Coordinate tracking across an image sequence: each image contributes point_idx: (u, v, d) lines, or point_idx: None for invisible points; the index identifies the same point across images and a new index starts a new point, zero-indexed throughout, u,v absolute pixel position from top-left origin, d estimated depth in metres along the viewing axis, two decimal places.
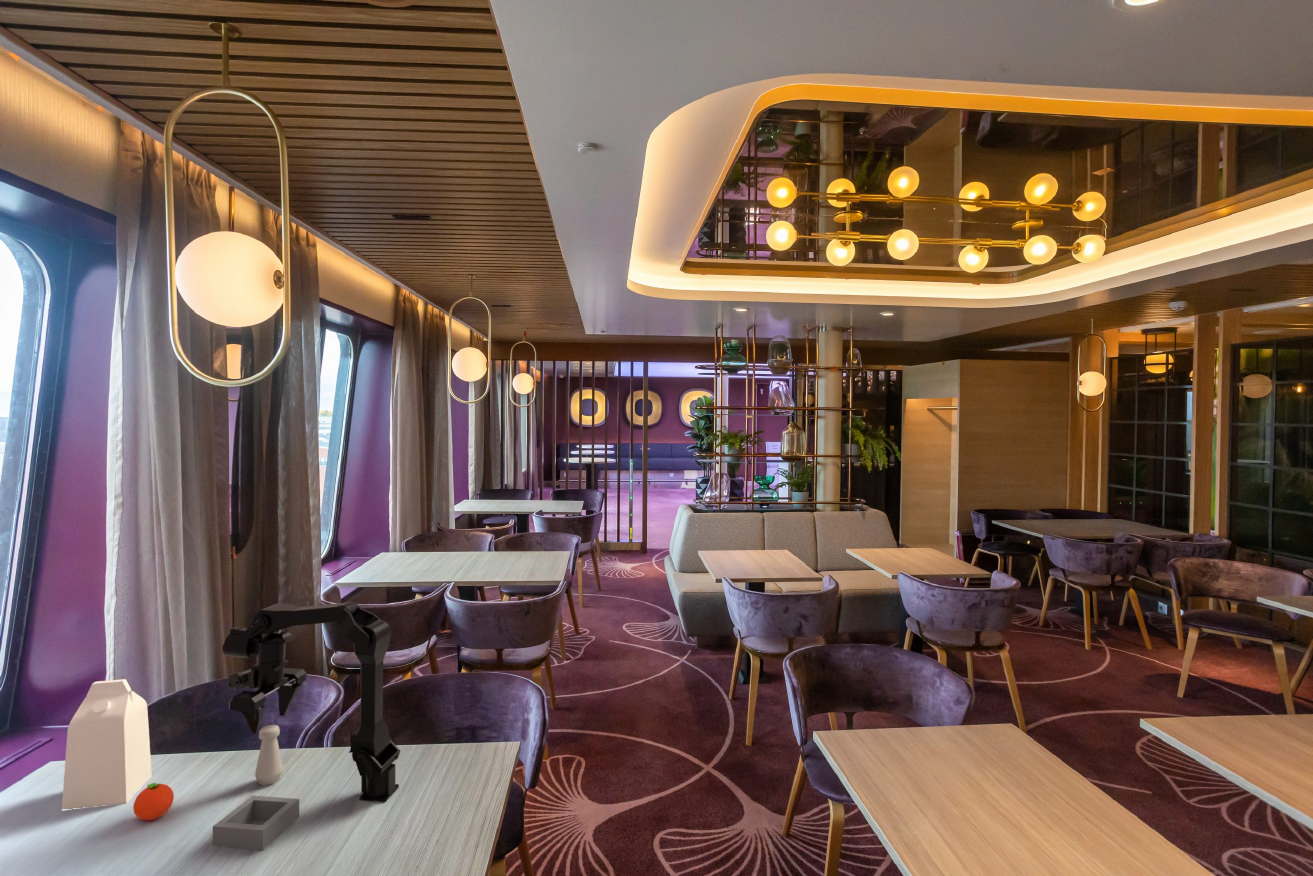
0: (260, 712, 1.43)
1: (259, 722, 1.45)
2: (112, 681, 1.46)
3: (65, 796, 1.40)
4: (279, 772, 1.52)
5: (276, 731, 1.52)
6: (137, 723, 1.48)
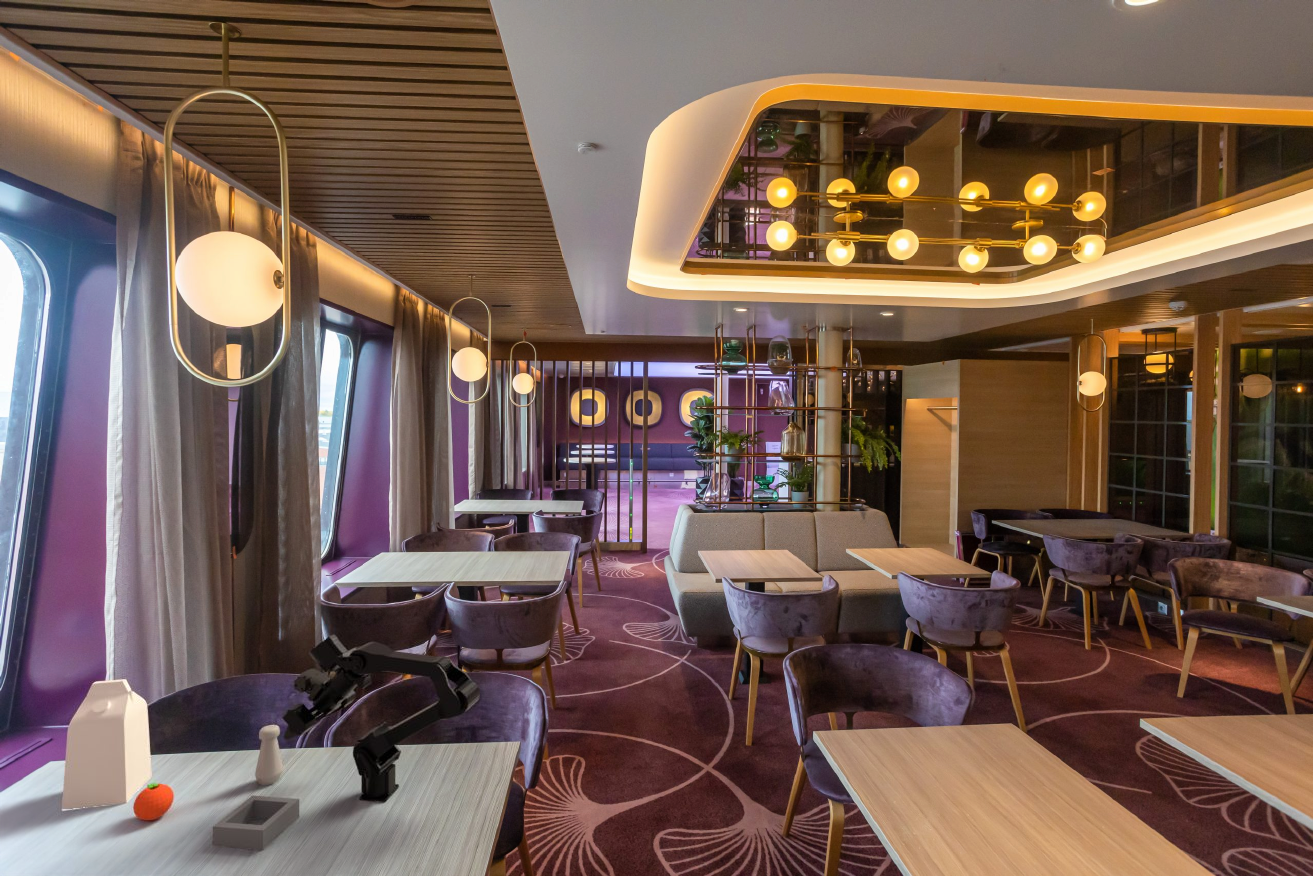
0: None
1: (295, 736, 1.45)
2: (112, 681, 1.47)
3: (65, 796, 1.40)
4: (279, 772, 1.52)
5: (276, 731, 1.52)
6: (137, 723, 1.48)
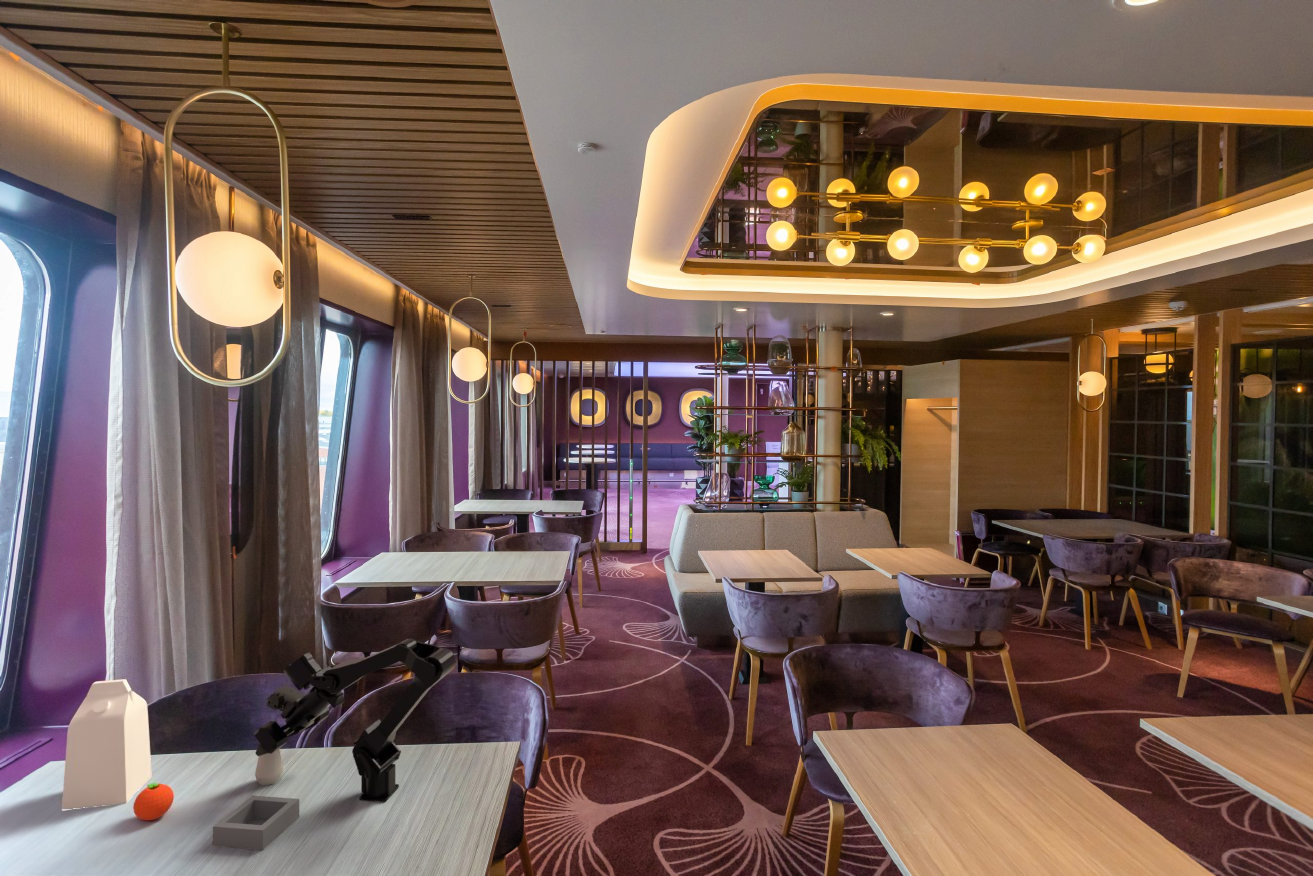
0: None
1: None
2: (112, 681, 1.47)
3: (65, 796, 1.40)
4: (279, 772, 1.52)
5: None
6: (137, 723, 1.48)
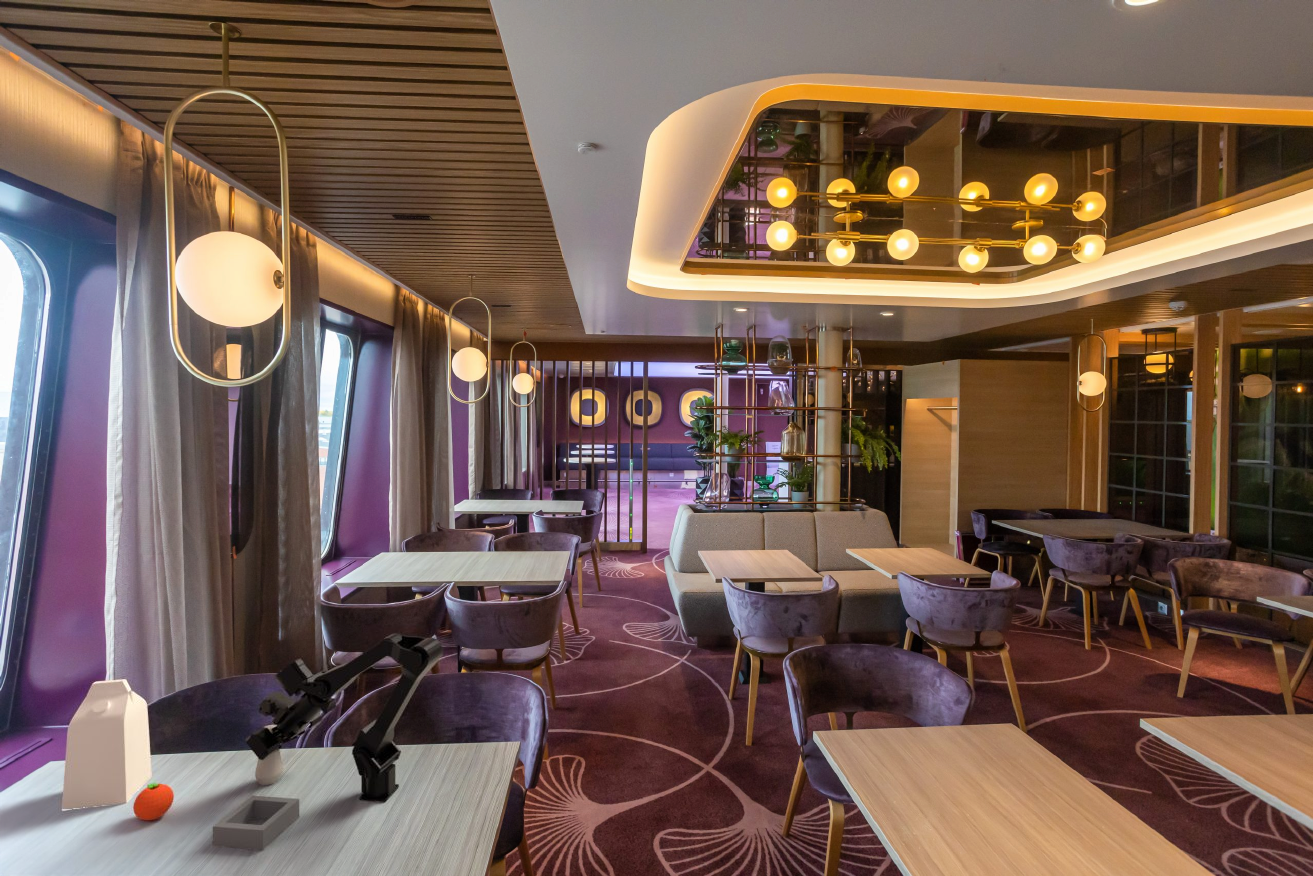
0: None
1: None
2: (112, 681, 1.47)
3: (65, 796, 1.40)
4: (279, 772, 1.52)
5: None
6: (137, 723, 1.48)
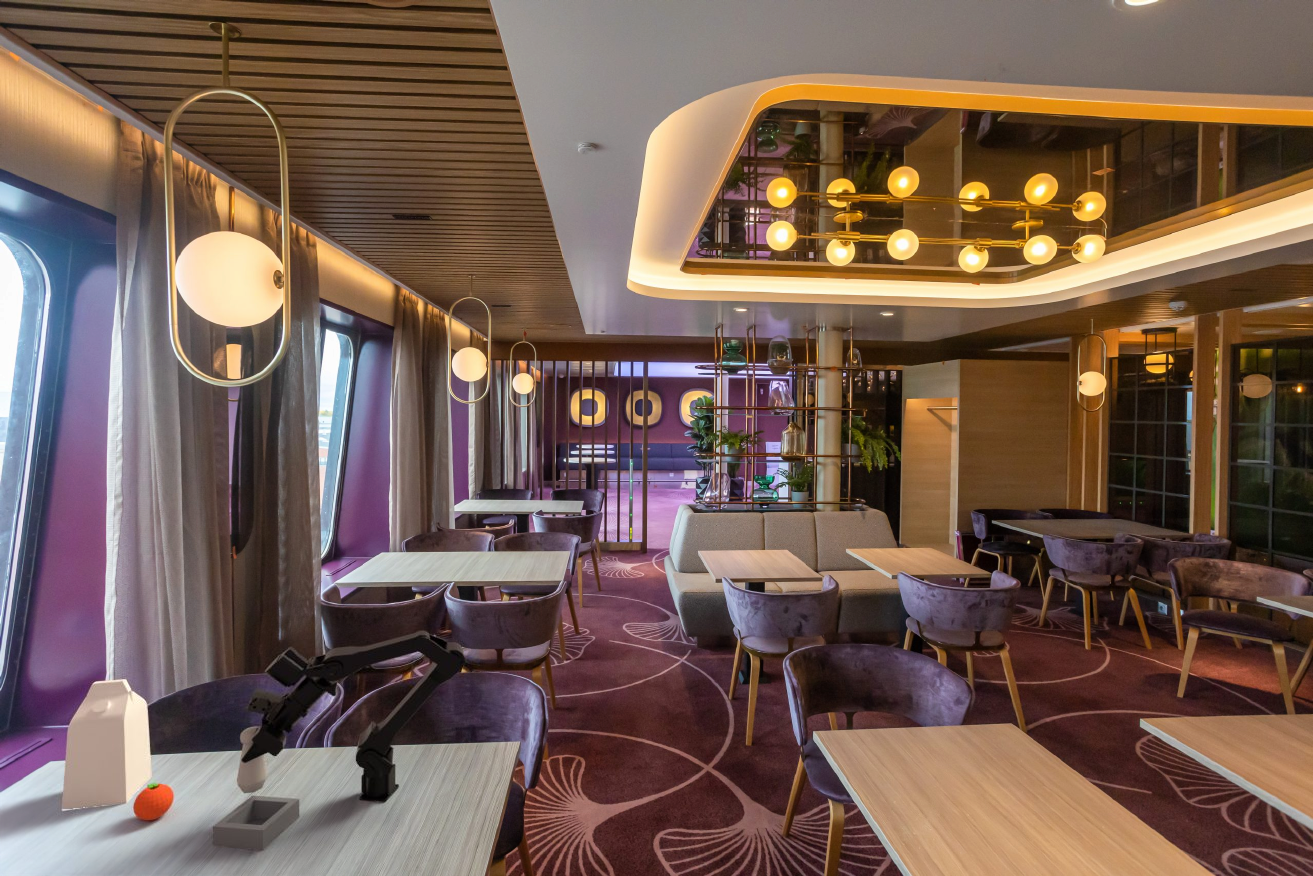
0: None
1: None
2: (112, 681, 1.47)
3: (65, 796, 1.40)
4: (267, 774, 1.39)
5: None
6: (137, 723, 1.48)
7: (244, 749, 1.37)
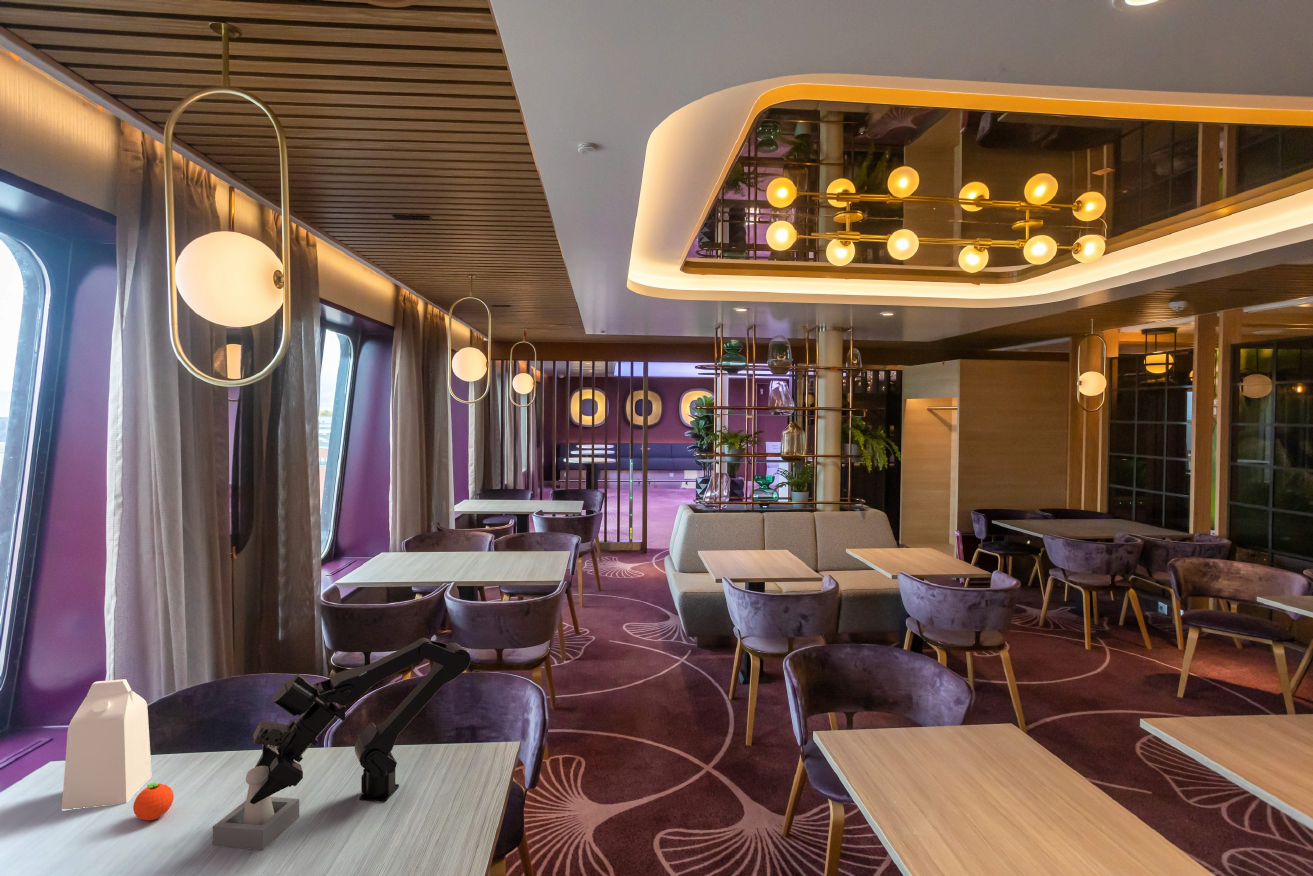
0: None
1: None
2: (112, 681, 1.47)
3: (65, 796, 1.40)
4: None
5: None
6: (137, 723, 1.48)
7: (251, 790, 1.32)
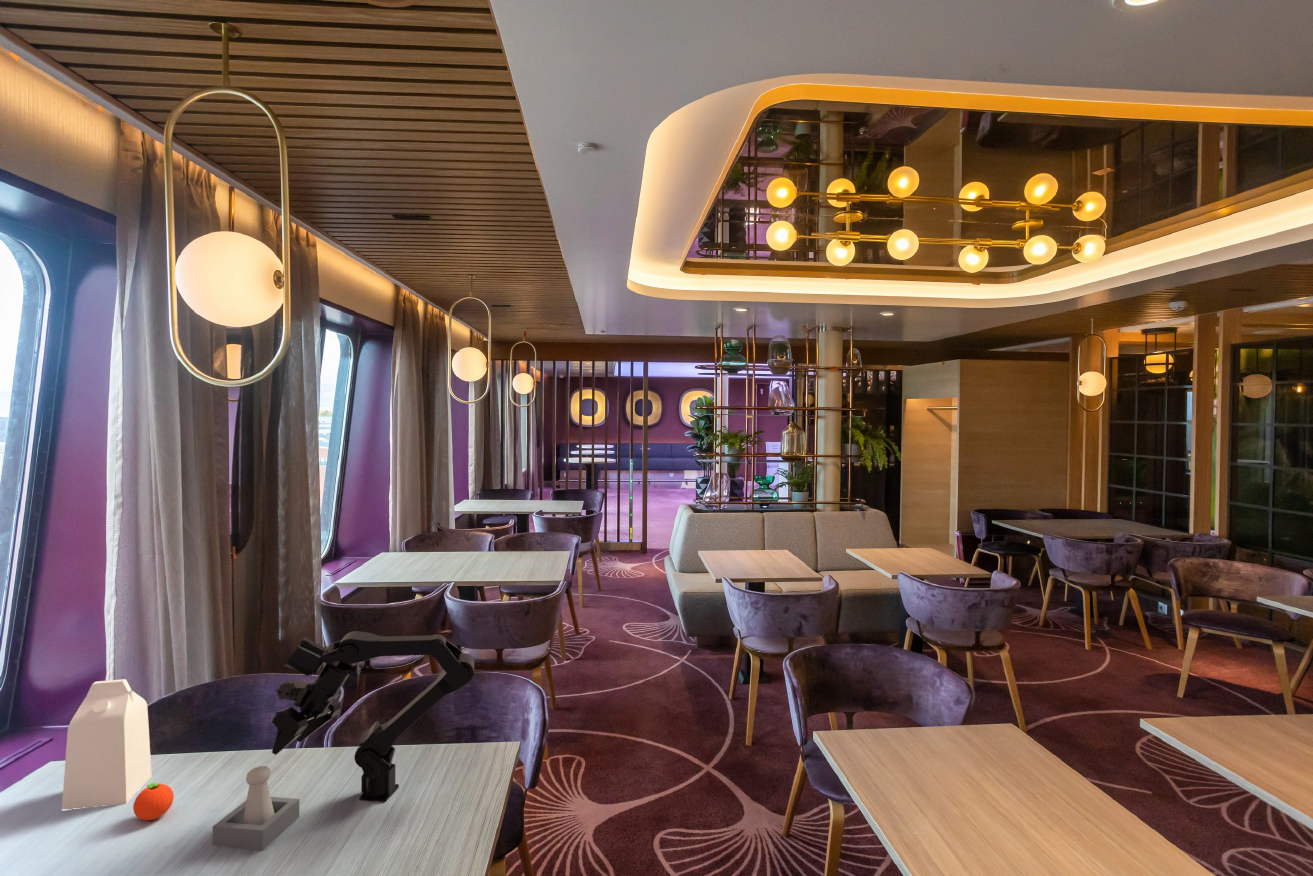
0: (295, 738, 1.36)
1: None
2: (112, 681, 1.47)
3: (65, 796, 1.40)
4: None
5: (269, 770, 1.34)
6: (137, 723, 1.48)
7: (252, 791, 1.32)
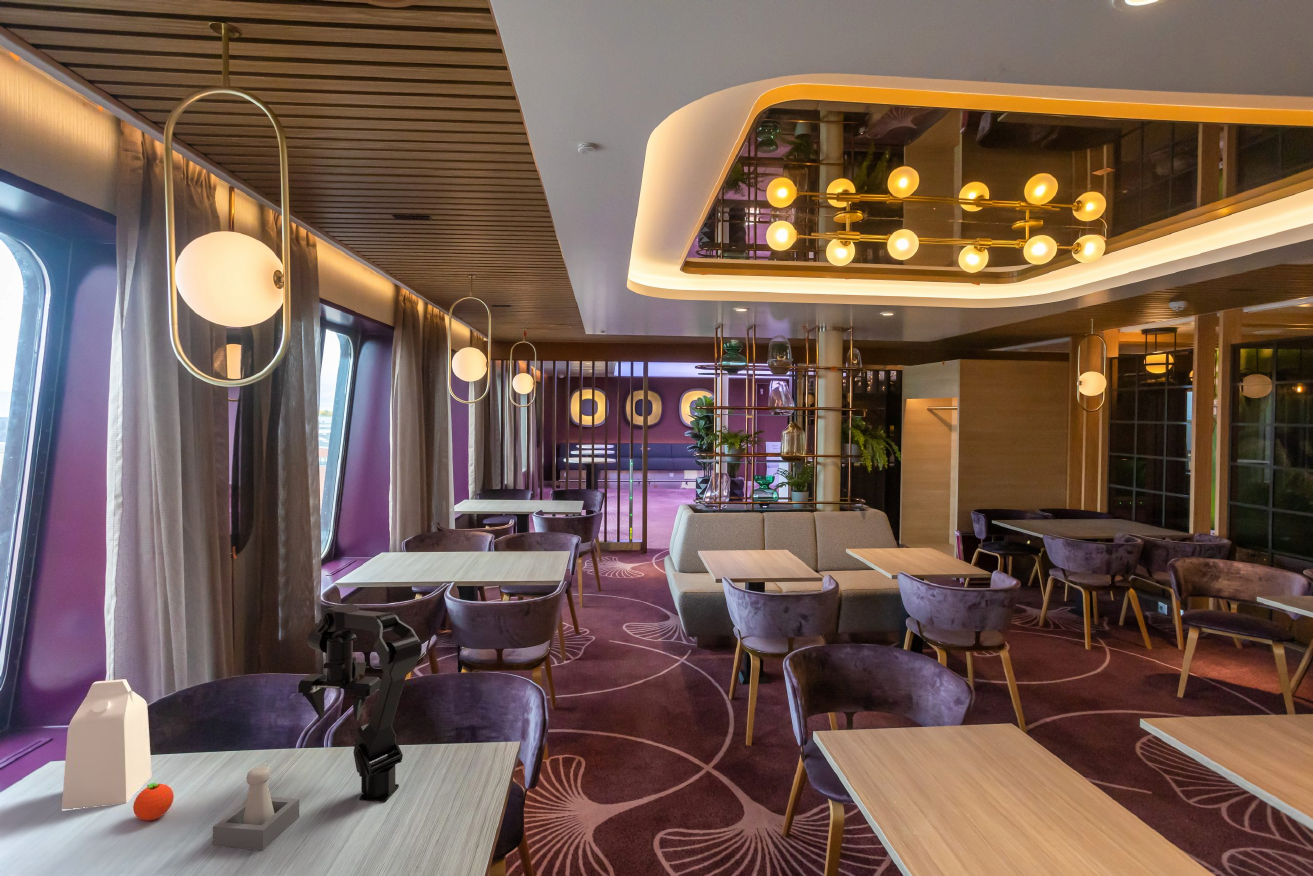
0: (308, 698, 1.55)
1: (315, 708, 1.56)
2: (112, 681, 1.47)
3: (65, 796, 1.40)
4: None
5: (269, 770, 1.34)
6: (137, 723, 1.48)
7: (252, 791, 1.32)
